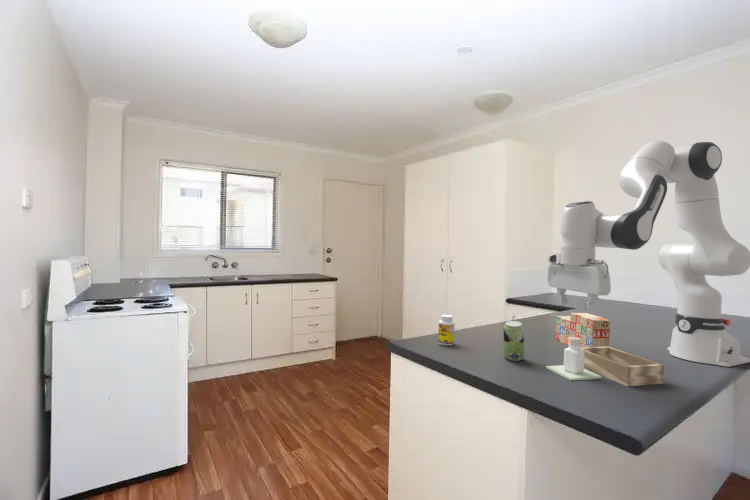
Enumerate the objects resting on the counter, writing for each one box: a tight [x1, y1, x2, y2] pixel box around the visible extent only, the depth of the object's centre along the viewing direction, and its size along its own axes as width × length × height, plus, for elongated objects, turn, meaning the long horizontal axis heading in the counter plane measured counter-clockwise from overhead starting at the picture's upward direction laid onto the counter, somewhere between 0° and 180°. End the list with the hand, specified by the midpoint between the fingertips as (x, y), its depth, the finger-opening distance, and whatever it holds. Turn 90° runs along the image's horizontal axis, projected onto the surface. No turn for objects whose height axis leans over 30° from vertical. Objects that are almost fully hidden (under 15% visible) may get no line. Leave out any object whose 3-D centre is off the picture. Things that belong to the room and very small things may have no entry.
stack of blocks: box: [554, 312, 611, 348], centre depth 135 cm, size 21×6×12 cm, turn 6°
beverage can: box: [503, 320, 525, 362], centre depth 118 cm, size 6×7×12 cm
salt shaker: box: [563, 337, 585, 374], centre depth 106 cm, size 4×4×10 cm
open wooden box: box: [581, 346, 665, 387], centre depth 107 cm, size 12×18×5 cm, turn 13°
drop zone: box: [545, 364, 603, 381], centre depth 106 cm, size 10×10×1 cm
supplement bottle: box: [437, 314, 455, 346], centre depth 134 cm, size 6×6×10 cm
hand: (575, 306), depth 106 cm, fingers open, 8 cm apart
